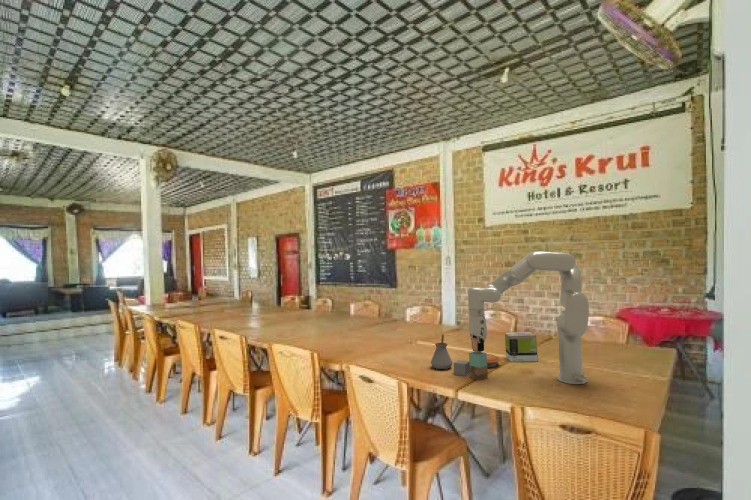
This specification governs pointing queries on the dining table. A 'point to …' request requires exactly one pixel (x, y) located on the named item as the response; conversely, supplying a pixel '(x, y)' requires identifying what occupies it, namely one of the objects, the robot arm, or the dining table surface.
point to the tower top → (478, 359)
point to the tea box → (521, 346)
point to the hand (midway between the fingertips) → (477, 349)
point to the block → (461, 367)
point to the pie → (492, 360)
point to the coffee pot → (441, 356)
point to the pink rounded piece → (475, 344)
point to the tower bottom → (479, 372)
